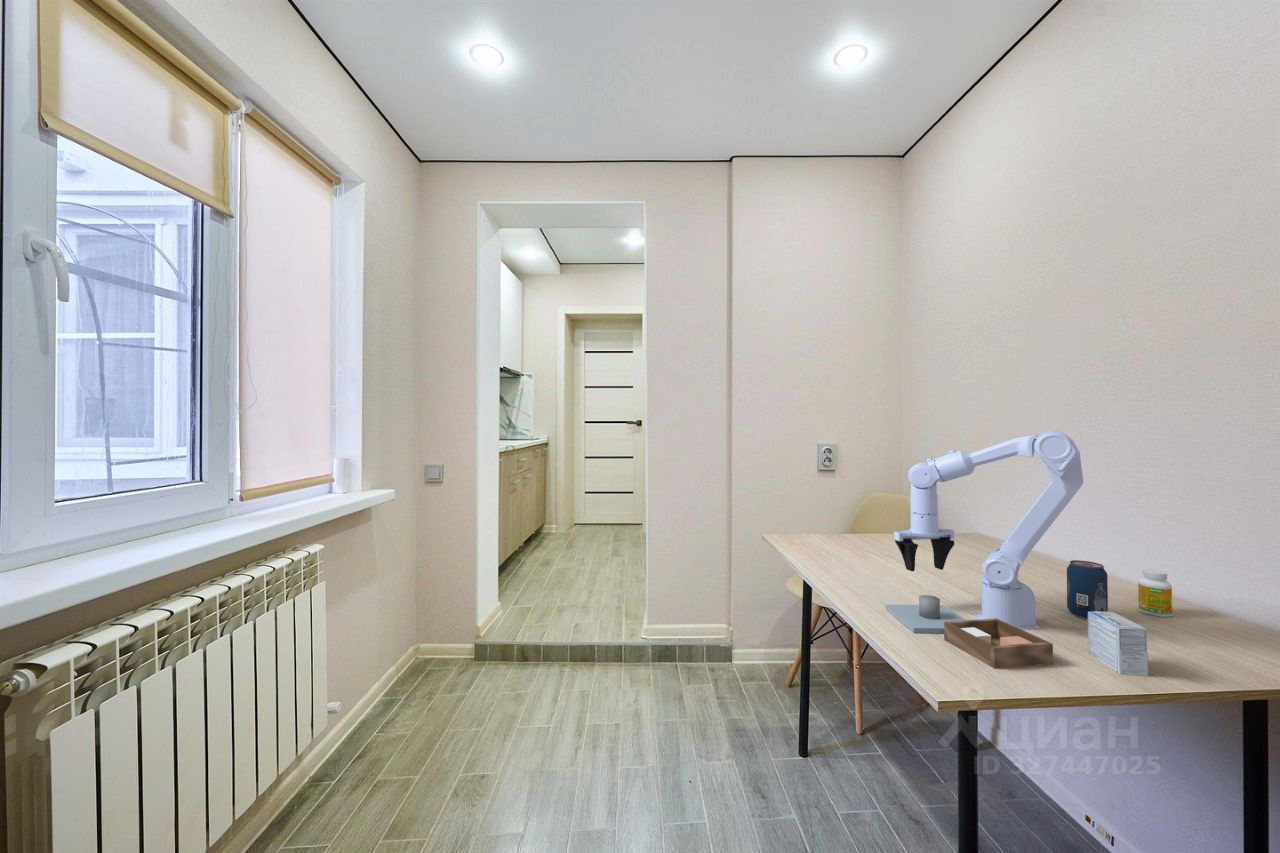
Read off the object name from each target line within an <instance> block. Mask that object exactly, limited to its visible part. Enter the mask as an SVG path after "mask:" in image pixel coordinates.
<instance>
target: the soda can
mask: <svg viewBox="0 0 1280 853" xmlns="http://www.w3.org/2000/svg"><path fill="white" fill-rule="evenodd" d="M1108 581H1109V580H1108V573H1107V571H1106V570H1105V566H1104V565H1103V564H1102V563H1097V562H1095V561H1093V562H1092V561H1088V560H1077V559H1075V560H1070V561H1069V564H1068V566H1066V607H1067V610H1068V611H1069V612H1070V614H1071V615H1073V617H1076V618H1080V619H1083V620H1087V621H1088V612H1092V611H1100V612H1109V600H1108V599H1109V597H1108V596H1109V594H1108V593H1109V592H1108V591H1109V590H1108V584H1109V583H1108Z"/></svg>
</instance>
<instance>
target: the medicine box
mask: <svg viewBox="0 0 1280 853" xmlns="http://www.w3.org/2000/svg"><path fill="white" fill-rule="evenodd" d="M1147 630H1148V629H1147V628H1146V627H1144V626H1141V625H1140V624H1138V623H1136V622H1134V621H1132V620H1130V619H1128V618H1126V617H1124V616H1122V615H1119V614H1117V613H1116V612H1112V611H1108V612H1100V611H1092V612H1088V620H1087V632H1088V634H1087V635H1088V636H1087V638H1088V641H1087V642H1088V644H1087V645H1088V654H1089V655H1090V656H1091V657H1092V658H1095V659H1096V660H1098V662H1100V663H1102V664H1104V665H1105V666H1107V667H1108V668H1109V669H1111V670H1113V671H1115V672H1116V673H1118V674H1119V675H1126V676H1127V675H1128V676H1139V677H1149V661H1148V656H1149V655H1148V633H1147V632H1148V631H1147Z"/></svg>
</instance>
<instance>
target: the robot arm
mask: <svg viewBox="0 0 1280 853" xmlns="http://www.w3.org/2000/svg"><path fill="white" fill-rule="evenodd" d="M947 453H948V454H945V455H942V456H940V457H939V456H938V457H935V458H932V457H930V458H927V459H926V462H920V463H919V462H918V463H916V464H915V465H913V466H912V467H910V468H909V470H908V474H907V478H908V481H909V482H910V493H909V497H910V498H909V499H910V501H909V502H910V508H909V509H910V528H909V529H904V530H897V531H893V539H894V543H895V544H896V547H897V548H898V549H899V551H900V554H901V556H902V559H903V563H904V566H905V570H907V571H910V572H915V571H916V570H915V569H916V553H917V550H918V547H919V544H918V543H915V542H914V541H918V540H919V541H921V540H930V543H931V547H932V552H933V565H934V568H936V569H938V570H940V571H941V570H942V571H943V570H944V568H945V565H946V561H947V559H948V556H949V553H950V551H951V550H952V549H953V547H955V540H953V539H955V530H953V529H948V528H946V529H944V528H943V529H941V528H939V511H938V510H939V507H938V506H939V502H938V500H939V499H938V498H939V496H938V491H937V490H938V487H937V486H938V484H937V483H938V482H940V483H945V482H949V481H952V480H956V479H959V478H962V477H965V476H966V477H967V476H971V475H972V474H973V473H974V470H975V469H976V467H978V466H981V465H986V464H990V463H993V462H996V461H999V460H1004V459H1006V458H1007V459H1008V458H1010V457H1015V456H1016V457H1017V456H1019V457H1026V458H1033V457H1034V453H1035V454H1036V455H1037V457H1038V458H1039V459H1040V460H1041V461H1042V462H1043V463H1044V464H1045V465H1046V468H1047V471H1048V473H1049V476H1050V478H1051V480H1050V482H1049V483H1047V485H1046V486H1045V488H1044V489H1043V490H1042V492H1041V493H1040V494H1039V496H1038V497H1037V498H1036V499H1035V501H1034V502H1033V503H1032V505H1031V506H1030V508H1029V509H1028V510H1027V512H1026V513H1025V514H1024V516H1022V517H1021V519H1020V521H1019V522H1018V523H1017V524H1016V526H1015V527H1014V529H1013V530H1012V531H1011V533H1010V534H1009V535H1008V537H1006V539H1005V540H1004V541H1003V542H1002V544H1001V545H1000V546H999V547H998V548H996V549H993V550H991V551H990V552H988V553H987V555H986V557H985V560H984V562H983V563H982V565H981V574H982V577H981V579H980V580H981V585H980V586H981V614H974V615H971V618H972V619H974V620H980V619H995V618H997V619H999V620H1001V621H1003V622H1006V623H1008V624H1010V625H1012V626H1015V627H1017V628H1019V629H1021V630H1029V629H1030V630H1033V629H1035V630H1036V629H1040V626H1039V625H1037V624H1036V623H1037V622H1036V620H1037V619H1036V618H1037V617H1036V614H1037V613H1036V609H1037V608H1036V607H1037V603H1036V595H1035V594H1034V591H1033V590H1032V588H1031V587H1030V586H1028V585H1027V584H1025V583H1024V582H1022V581H1020V580H1019V579H1018V577H1019V570H1020V568H1021V566H1022V565H1023V564H1024V563H1025V560H1026V559H1027V557H1028V555H1029V554H1030V552H1031V551H1032V550H1033V549H1034V548H1035V546H1036V545H1037V544H1038V543H1039V541H1040V540H1041V539H1042V537H1043V536H1044V535H1045V533H1046V532H1047V531H1048V530H1049V529H1050V527H1051V526H1052V524H1054V522H1055V520H1057V518H1058V517H1059V515H1060V514H1061V513H1062V512H1063V511H1064V509H1065V508H1066V507H1067V505H1068V504H1069V503H1070V502H1071V500H1072V499H1073V498H1074V496H1076V494H1077V492H1079V490H1081V488H1082V486H1083V484H1084V478H1083V477H1084V476H1083V470H1082V462H1081V461H1082V460H1081V452H1080V450H1079V448H1078V446H1077V445H1076V443H1075V442H1074V440H1073V439H1072V437H1070V436H1069V435H1068V434H1066V433H1064V432H1062V431H1058V430H1050V431H1045V432H1043V433H1041V434H1040V435H1039V433H1038V434H1030V435H1025V436H1019V437H1015V438H1012V439H1009V440H1007V441H1004V442H1000V443H997V444H995V445H993V446H992V445H991V446H989V447H985V448H983V449H980V450H977V451H974V452H971V453H968V452H967V451H963V450H958V451H956V450H955V449H953V450H949V451H948V452H947Z"/></svg>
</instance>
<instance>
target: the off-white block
mask: <svg viewBox="0 0 1280 853" xmlns="http://www.w3.org/2000/svg"><path fill="white" fill-rule="evenodd" d="M960 629H962V630H964V631H966V632H968V633H970V634H972V635H974V636H976V637H978V638H980V639H982V640H984V641H985V642H987V643H989V644H991V635H989V634H987V633H985V632H983V631H981V630H979V629H977V628H975V627H970V628H960Z"/></svg>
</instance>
